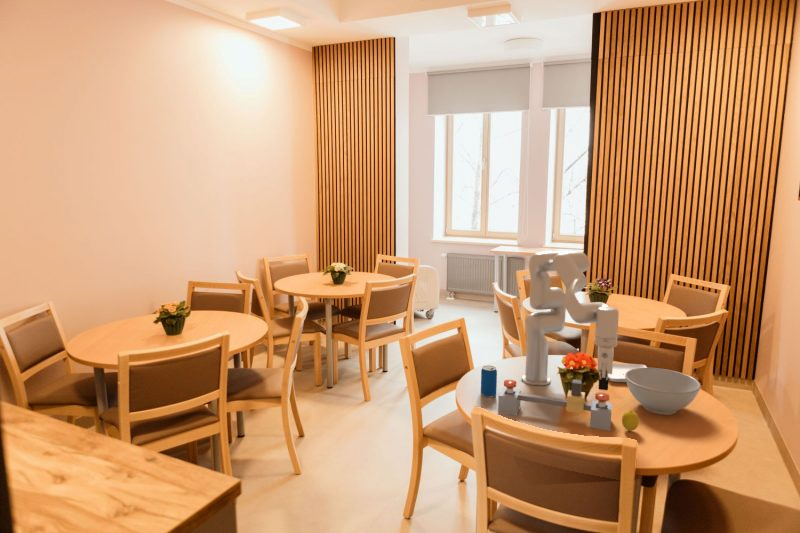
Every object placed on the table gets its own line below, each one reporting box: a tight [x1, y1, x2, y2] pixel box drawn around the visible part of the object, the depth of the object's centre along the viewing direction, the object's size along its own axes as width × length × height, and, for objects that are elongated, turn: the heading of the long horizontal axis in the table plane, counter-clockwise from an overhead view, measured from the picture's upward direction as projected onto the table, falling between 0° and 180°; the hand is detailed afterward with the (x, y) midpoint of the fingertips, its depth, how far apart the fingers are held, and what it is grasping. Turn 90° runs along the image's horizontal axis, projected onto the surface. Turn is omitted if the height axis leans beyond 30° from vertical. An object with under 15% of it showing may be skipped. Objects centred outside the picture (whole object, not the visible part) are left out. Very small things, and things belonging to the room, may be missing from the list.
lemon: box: [621, 409, 640, 432], centre depth 196 cm, size 6×6×8 cm
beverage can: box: [480, 365, 498, 398], centre depth 228 cm, size 6×6×12 cm
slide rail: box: [497, 386, 613, 432], centre depth 208 cm, size 9×41×7 cm, turn 67°
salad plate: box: [608, 362, 648, 383], centre depth 250 cm, size 21×21×3 cm
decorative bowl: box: [625, 367, 701, 416], centre depth 215 cm, size 27×27×12 cm
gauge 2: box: [594, 392, 610, 409], centre depth 201 cm, size 5×5×7 cm
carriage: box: [565, 378, 586, 415], centre depth 204 cm, size 6×6×11 cm
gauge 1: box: [503, 379, 517, 395], centre depth 214 cm, size 5×5×7 cm
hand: (603, 389), depth 200 cm, fingers closed
